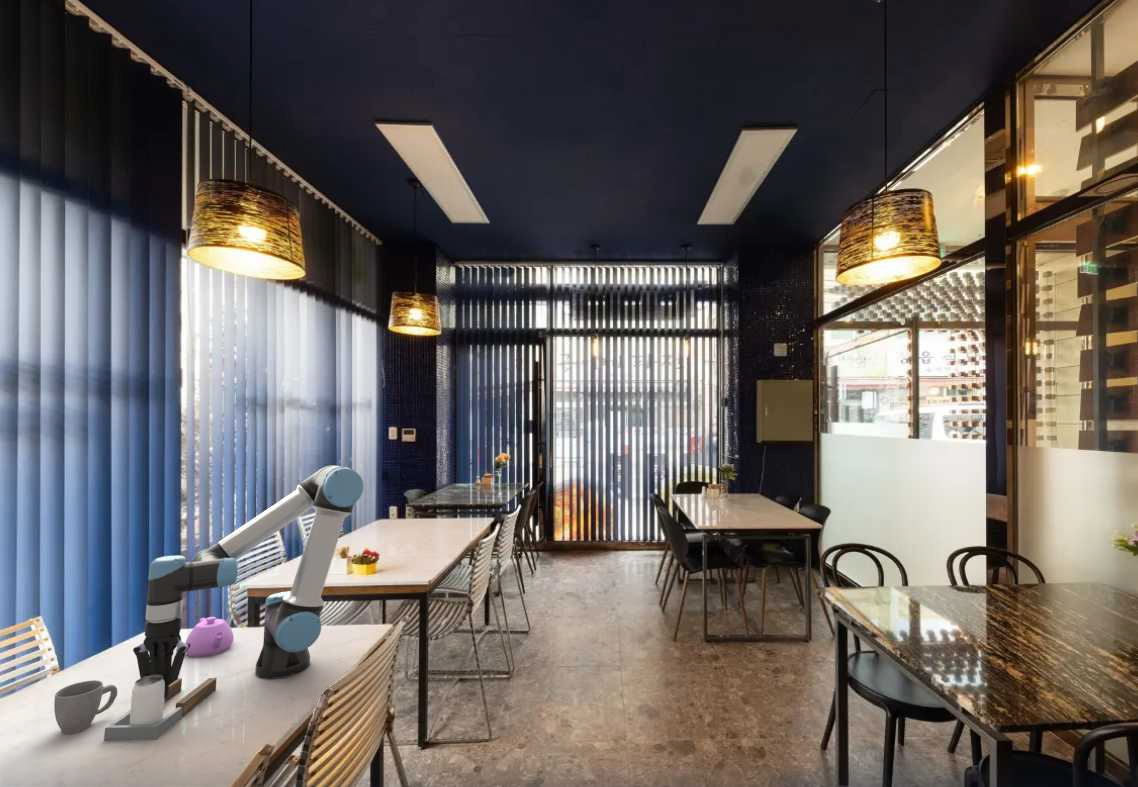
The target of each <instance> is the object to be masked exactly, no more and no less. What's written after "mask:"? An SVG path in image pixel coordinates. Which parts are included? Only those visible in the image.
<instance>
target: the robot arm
mask: <svg viewBox="0 0 1138 787" xmlns="http://www.w3.org/2000/svg"><path fill="white" fill-rule="evenodd" d="M363 492H364V481H363V478H362V476H361V475H360V474H359V473H358V472H357V471H356V470H354V469H352V468H350V467H348V466H341V465H338V464H337V465H335V464H333V465H327V466H324V467H322V468H319V469H318V470H317V471H316V472H314V473H313V474H311V475H310V476H309V477H307V478H306V479H305V480H303V481H302V482H300V483H299V484H298V485H297V487H296V490H293V491H292V492H291V493H290V494H288V495H286V496H285V497H283V498H282V499H281V500H279V501H278V502H277V503H275V504H274V505H272V506H270V507H269V508H267V509H266V510H264V511H262V512H261V513H260V514H258V515H257V516H255V517H254V518H252V519H251V520H249V521H248V522H246V523H245V524H243V525H242V526H240V527H238V528H237V529H236V530H234V531H233V532H232V533H230V534H228V535H227V536H226V537H224V538H222V539H221V540H220V541H218V542H217V543H215V544H214V545H212V546H211V547H208V548H205V549H202V550H200V551H198V552H197V553H196V554H195V555H194V557H193V558H192V562H190V561H188V562H187V561H186V557H185V556H183V555H165V556H160V557H157V558H155V559H153V560H152V561H151V563H150V564H149V571H148V578H147V596H146V598H147V599H146V607H145V608H146V609H145V620H146V622H145V624H144V625H145V626H144V636H145V637H144V640H143V643H141V644H139V645H137V646H135V647H133V649H132V651H133V654H134V655H135V656H136V659H137V660H136V661H137V668H138V671H139V672H138V673H139V677H140V678H139V679H141V678H143V677H146V676H150V675H162V676H163V680H164V681H165V691H164V707H163V711H164V710H165V706H166V705H165V704H166V703H165V698H166V697H167V696H168V692H169V685H170V684H172V683H173V682H174V681H176V680H177V679H179V676H180V672H181V669H182V665H183V662H184V660H185V656H186V654H187V653H186V651H187V650H188V649H189V647H190V644H189V643H187V644H185V643H186V642H183V641H182V637H181V635H180V633H181V629H182V619H183V618H182V613H183V603H184V602H183V601H184V600H183V599H184V593H186V592H187V593H188V592H194V591H201V590H209V589H210V590H211V589H217V588H218V589H219V588H223V587H228V586H229V587H230V586H232V585H235V583H237V580H238V573H239V571H238V570H239V568H238V559H240V558H242V557H243V556H245V555H246V554H248V553H249V552H250V551H251V550H253V549H254V548H256V547H258V546H259V545H260V544H261V543H263V542H265V541H266V540H267V539H269V538H271V536H274V534H276V533H277V532H279V531H280V530H281V529H283V528H284V527H286V526H287V525H289V524H290V523H292V522H294V521H295V520H296V519H298V518H299V517H300V516H302V515H303V514H305V513H306V512H308V511H309V510H310V509H313V510H314V511H315V514H314V518H313V520H312V523H311V527H310V529H309V532H308V536H307V540H306V542H305V545H304V548H303V552H302V554H301V558H300V561H299V565H298V567H297V570H296V574H295V577H294V579H293V583H292V587H291V589H290V590H288V591H282V592H278V593H277V592H276V593H273V594H270V595H269V596H267V597H266V599H265V604H264V625H263V626H264V628H263V645H262V648H261V651H260V653H259V656H258V658H257V661H256V664H255V675H256V677H259V678H263V679H280V678H285V677H290V676H292V675H295V674H298V673H300V672H303V671H304V670H306V669H307V668H308V667H309V666H310V664H311V654H310V653H311V652H310V651H309V647H311V646H312V645H313V644H315V642H316V641H317V640H318V639H319V636H320V635H321V631H322V621H321V615H322V611H323V609H324V606H325V601H324V600H323V598H322V593H323V590H324V588H325V584H326V581H327V577H328V574H329V571H330V567H331V565H332V561H333V557H334V556H335V555H334V554H335V550H336V548H337V545H338V541H339V539H340V538H339V537H340V535H341V531H342V529H343V528H342V527H343V526H344V525H343V524H344V523H345V519H346V517H349V516H350V515H352V513H353V509H354V507H355V506H354V505H355V504H356V503H357V502H358V501H359V500H360V499H361V497H362V494H363ZM174 652H175V653H174ZM174 654H175V655H174ZM173 656H174V657H173ZM305 668H306V669H305Z"/></svg>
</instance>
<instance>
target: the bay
mask: <svg viewBox="0 0 1138 787" xmlns="http://www.w3.org/2000/svg"><path fill="white" fill-rule="evenodd" d="M130 711H131V709H130V710H129V711H127V712H126V713H124V714H123V715H122V716H120V717H118V718H117V719H116V720H114V721H113V722H111V723H110V724H108V725H107V726H105V727H104V736H103V742H110V741H111V742H112V741H150V740H151V741H152V740H153V741H154V740H158V739H159V738H160V737H162V736H163V735H165V733H167V731H170V729H171V728H172V727H174V726H175V725H176V724H177V723H178V722H180V721H181V720H182V719H183V717H182V707H178V708H176V707H175V709H174V710H172V711H171V712H170V713H168V714H167V715H166V716H165V717H163V719H162V720H161V721H160V722H158V723H157V724H151V725H130Z"/></svg>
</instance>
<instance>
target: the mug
mask: <svg viewBox="0 0 1138 787" xmlns="http://www.w3.org/2000/svg"><path fill="white" fill-rule="evenodd" d="M109 692H110V694H109V697H108V700H107V702H106V703H105V704H104V706H102V707H100V706H101V705H100V704H101V701H102V696H103V695H105V694H107V693H109ZM117 696H118V688H117V686H116V685H114V684H108V685H105V686H104V684H103V682H102V681H100V680H86V681H85V680H83V681H81V682H75V683H72V684H70V685H67V686H65V687H62V688H61V689H59V690H58V691H56V693H55V695H54V702H53V704H54V705H53V706H54V707H53V708H54V709H53V710H54V716H55V722H56V724H57V726H58V728H59V729H60V731H61V734H62V735H65V736H66V735H74V734H79V733H81V732H84V731H86V730H88V729H89V728H90V727H91V726H92V723H93V722H94V718H95V717H96V716H97V715H100V714H101V713H103V712H105V711H107V710H108V709H110V707H112V705H113V704H114V702H115V700H116V698H117Z"/></svg>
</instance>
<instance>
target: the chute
mask: <svg viewBox="0 0 1138 787" xmlns="http://www.w3.org/2000/svg"><path fill="white" fill-rule="evenodd" d="M182 681H183V679H182V678H179V677H178V679H177V680H176V681H174V682H173V683H172V684H170V685H169V692H168V696H167V697H166V698H165V704H166V703H167V702H168V701H170V700H171V699H173V698H174V697H175V696H177V695H178V694H179V693H181V692H182V684H183V682H182ZM216 691H217V677H208V678H207V679H206V680H205V681H203V682H202V683H201V684H200V685H199V684H198V686H197V687H196V688H194V689H192V691H190V692H189V693H187V694H186V695H185V696H183V697H182V698H181V699H179V700H178V701H176V703H175V709H176V708H178V707H182V718H184V717H185V716H186V715H187V714H189V713H190V712H191V711H193V709H195V708H196V707H197V706H199V705H200V704H202V702H203V701H205V700H206V699H207V698H208V697H210V696H211V695H212V694H213V693H215V692H216Z"/></svg>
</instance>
